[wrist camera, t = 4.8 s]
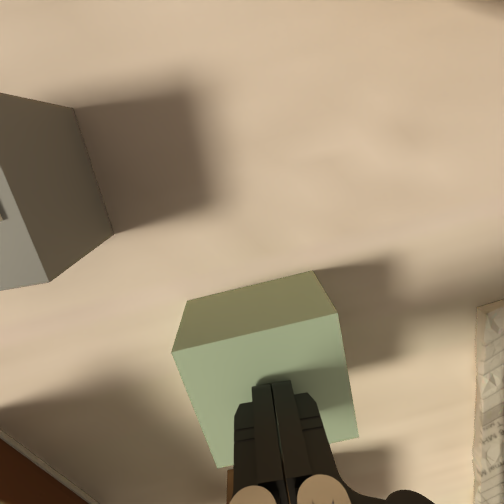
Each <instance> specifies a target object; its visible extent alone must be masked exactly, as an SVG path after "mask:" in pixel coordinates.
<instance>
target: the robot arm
mask: <svg viewBox="0 0 504 504" xmlns="http://www.w3.org/2000/svg"><path fill="white" fill-rule="evenodd" d="M272 387H273V394H274V400H273V395H272V389H271V384H270V383H269V384H263V385H257V386H252V402H247V403H242V404H239V406H238V409H237V411H236V413H235V415H234V474H233V494H232V498H231V501H230V503H229V504H290V503H291V504H435V503H433V502H432V501H430V500H429V499H427V498H426V497H424V496H423V495H421V494H419V493H417V492H414V491H410V490H399V491H395V492H393V493H392V494H390V495H389V496H388V497H387V499H386V500H383V499H378V498H373V497H368V496H364V495H361V494H359V493H357V492H355V491H353V490H352V489H351V488H349V487H348V486H347V485H346V484H345V483H344V482H343V480H342V479H341V477H340V475H339V473H338V471H337V468H336V465H335V461H334V458H333V455H332V452H331V448H330V445H329V442H328V439H327V435H326V432H325V429H324V426H323V422H322V419H321V416H320V413H319V409H318V406H317V403H316V401H315V400H314V399H313V398H312V397H311V396H310V395H309V394H308V392H306V393H300V394H294V392H293V388H292V384H291V380H286V381H280V382H274V383H272ZM274 401H275V405H274ZM275 408H276V411H275ZM276 415H277V416H276ZM277 421H278V422H277ZM287 487H288V489H287ZM288 492H289V496H288ZM289 497H290V503H289Z"/></svg>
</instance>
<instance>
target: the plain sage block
mask: <svg viewBox="0 0 504 504" xmlns="http://www.w3.org/2000/svg"><path fill="white" fill-rule="evenodd" d="M171 353H172V355H173V358H174V360H175V363H176V365H177V368H178V371H179V373H180V376H181V378H182V381H183V383H184V386H185V388H186V391H187V393H188V396H189V398H190V401H191V403H192V406H193V408H194V411H195V413H196V416H197V418H198V421H199V423H200V426H201V428H202V431H203V433H204V436H205V438H206V441H207V444H208V446H209V449H210V451H211V454H212V456H213V459H214V461H215V464H216V466H217V469H218V468H223V467H227V466H232V465H234V415H235V413H236V411H237V409H238V406H239V404H242V403H247V402H252V386H257V385H263V384H269V383H270V384H271V389H272V395H273V400H274V394H273V387H272V383H274V382H280V381H286V380H291V384H292V388H293V392H294V394H300V393H306V392H308V394H309V395H310V396H311V397H312V398H313V399H314V400H315V401H316V403H317V406H318V409H319V413H320V416H321V419H322V422H323V426H324V429H325V432H326V435H327V439H328V442H329V444H331V443H335V442H340V441H344V440H349V439H353V438H358V437H359V434H358V428H357V422H356V417H355V411H354V405H353V399H352V393H351V387H350V382H349V376H348V370H347V364H346V358H345V352H344V346H343V341H342V335H341V329H340V323H339V317H338V312H337V311H336V309H335V307H334V306H333V304H332V302H331V301H330V299H329V297H328V296H327V294H326V292H325V291H324V289H323V287H322V286H321V284H320V282H319V281H318V279H317V277H316V276H315V274H314V272H313V271H308V272H304V273H300V274H296V275H292V276H288V277H284V278H280V279H275V280H271V281H267V282H263V283H259V284H255V285H251V286H246V287H242V288H238V289H234V290H230V291H226V292H222V293H218V294H213V295H209V296H205V297H201V298H197V299H193V300H189V301H187V303H186V306H185V309H184V313H183V316H182V319H181V322H180V326H179V329H178V332H177V335H176V339H175V342H174V345H173V348H172V351H171ZM274 405H275V401H274ZM275 411H276V408H275ZM276 416H277V415H276ZM277 422H278V421H277Z"/></svg>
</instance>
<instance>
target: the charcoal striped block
mask: <svg viewBox="0 0 504 504" xmlns="http://www.w3.org/2000/svg"><path fill="white" fill-rule="evenodd" d="M112 235H114V233H113V230H112V227H111V224H110V221H109V218H108V214H107V211H106V208H105V205H104V202H103V199H102V196H101V193H100V190H99V187H98V184H97V181H96V178H95V175H94V171H93V168H92V165H91V162H90V159H89V156H88V153H87V150H86V147H85V144H84V141H83V138H82V135H81V132H80V129H79V125H78V122H77V119H76V116H75V113H74V110H73V108H69V107H64V106H60V105H55V104H50V103H46V102H41V101H36V100H32V99H27V98H22V97H18V96H13V95H8V94H4V93H0V291H2V290H8V289H14V288H19V287H25V286H31V285H37V284H43V283H49V282H50V281H52V280H53V279H54V278H56V277H57V276H59V275H60V274H61V273H63V272H64V271H65V270H67V269H68V268H69V267H71V266H72V265H73V264H75V263H76V262H77V261H79V260H80V259H81V258H83V257H84V256H85V255H87V254H88V253H89V252H91V251H92V250H94V249H95V248H96V247H98V246H99V245H100V244H102V243H103V242H104V241H106V240H107V239H108V238H110V237H111V236H112Z"/></svg>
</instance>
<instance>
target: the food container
mask: <svg viewBox="0 0 504 504" xmlns="http://www.w3.org/2000/svg"><path fill="white" fill-rule="evenodd" d="M0 504H99V503H98V502H97V501H95V500H94V499H93V498H91V497H90V496H89V495H87V494H86V493H85V492H83V491H82V490H81V489H79V488H78V487H77V486H75V485H74V484H73V483H71V482H70V481H69V480H67V479H66V478H65V477H63V476H62V475H61V474H59V473H58V472H57V471H55V470H54V469H53V468H51V467H50V466H49V465H47V464H46V463H45V462H43V461H42V460H40V459H39V458H38V457H36V456H35V455H34V454H32V453H31V452H30V451H28V450H27V449H26V448H24V447H23V446H22V445H20V444H19V443H18V442H16V441H15V440H14V439H12V438H11V437H10V436H8V435H7V434H6V433H4V432H3V431H2V430H0Z"/></svg>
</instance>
